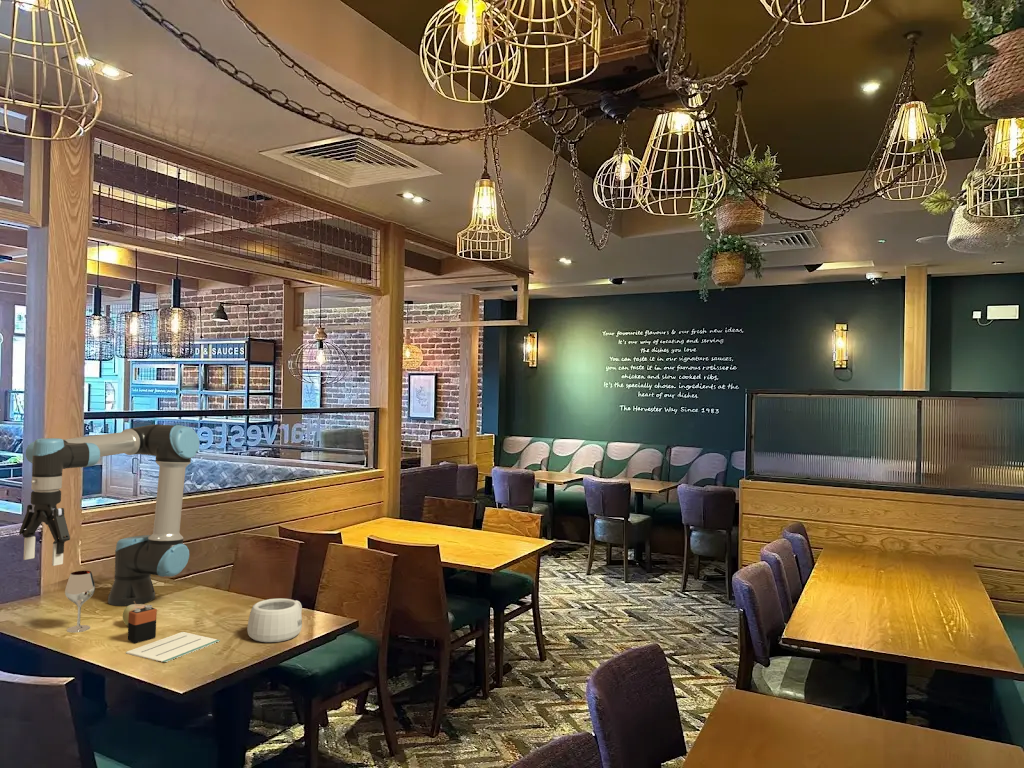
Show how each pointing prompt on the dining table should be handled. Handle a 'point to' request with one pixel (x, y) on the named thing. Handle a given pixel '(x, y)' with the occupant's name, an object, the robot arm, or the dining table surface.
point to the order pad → (172, 647)
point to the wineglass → (79, 594)
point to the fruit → (130, 608)
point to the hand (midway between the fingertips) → (43, 561)
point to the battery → (142, 624)
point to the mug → (275, 620)
